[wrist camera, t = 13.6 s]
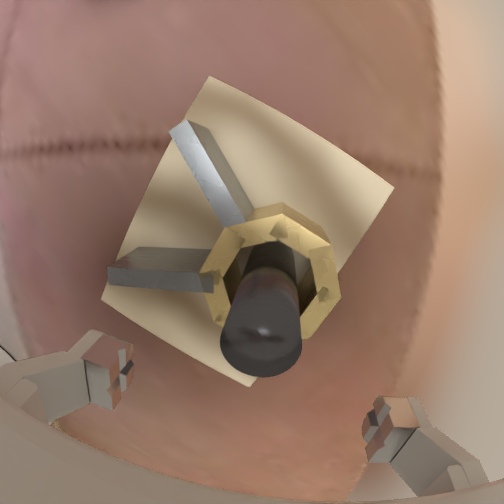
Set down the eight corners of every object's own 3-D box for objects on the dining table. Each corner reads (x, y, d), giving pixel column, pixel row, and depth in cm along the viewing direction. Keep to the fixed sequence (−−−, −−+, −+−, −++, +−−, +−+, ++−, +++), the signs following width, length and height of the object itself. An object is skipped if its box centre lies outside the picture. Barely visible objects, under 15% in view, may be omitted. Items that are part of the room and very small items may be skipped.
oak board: (251, 377, 27) (249, 387, 26) (108, 292, 26) (100, 299, 25) (387, 185, 21) (394, 187, 20) (213, 80, 21) (209, 75, 19)
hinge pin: (285, 286, 23) (284, 385, 12) (243, 273, 23) (211, 363, 12) (300, 246, 22) (314, 323, 11) (257, 232, 22) (232, 297, 11)
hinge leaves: (276, 341, 24) (273, 381, 19) (133, 257, 23) (101, 279, 19) (361, 222, 21) (382, 239, 16) (201, 124, 20) (177, 114, 15)
